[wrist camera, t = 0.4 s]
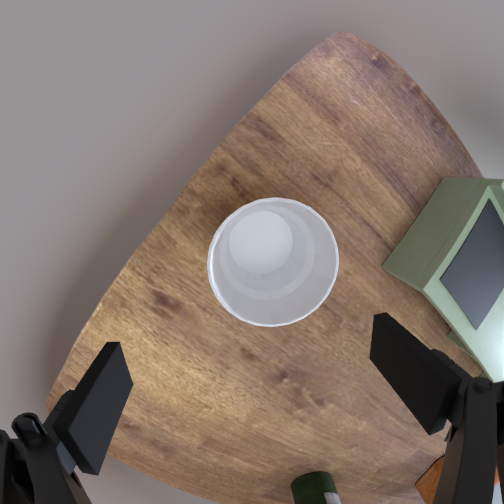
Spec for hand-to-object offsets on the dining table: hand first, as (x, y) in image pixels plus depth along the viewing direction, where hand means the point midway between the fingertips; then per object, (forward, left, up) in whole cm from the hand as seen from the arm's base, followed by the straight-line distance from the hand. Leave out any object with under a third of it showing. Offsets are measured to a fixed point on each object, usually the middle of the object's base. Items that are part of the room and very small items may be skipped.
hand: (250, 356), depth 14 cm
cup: (-2, +3, -19) cm, 19 cm away
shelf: (+12, +36, -19) cm, 42 cm away
